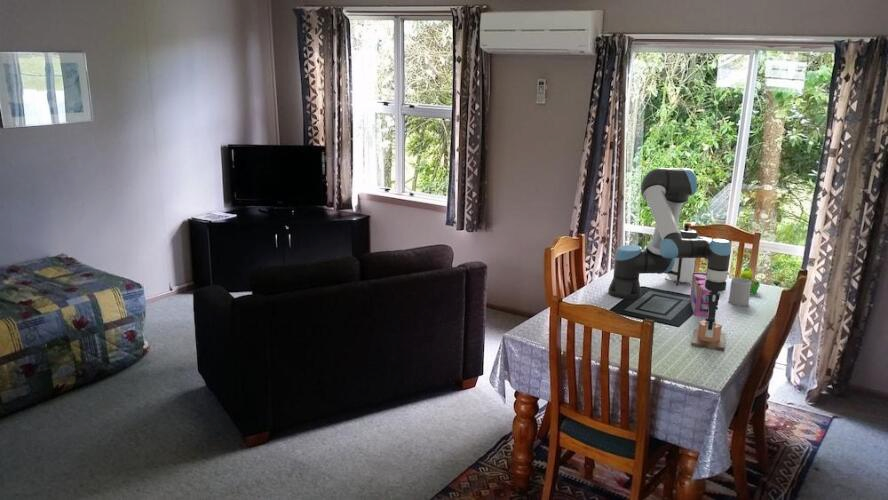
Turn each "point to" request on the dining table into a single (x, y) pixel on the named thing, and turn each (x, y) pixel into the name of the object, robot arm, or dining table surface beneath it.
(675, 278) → the coffee press
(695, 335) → the peg board
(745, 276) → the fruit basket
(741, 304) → the mug
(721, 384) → the dining table surface
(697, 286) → the gum box
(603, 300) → the dining table surface
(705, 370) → the dining table surface
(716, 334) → the hex nut
